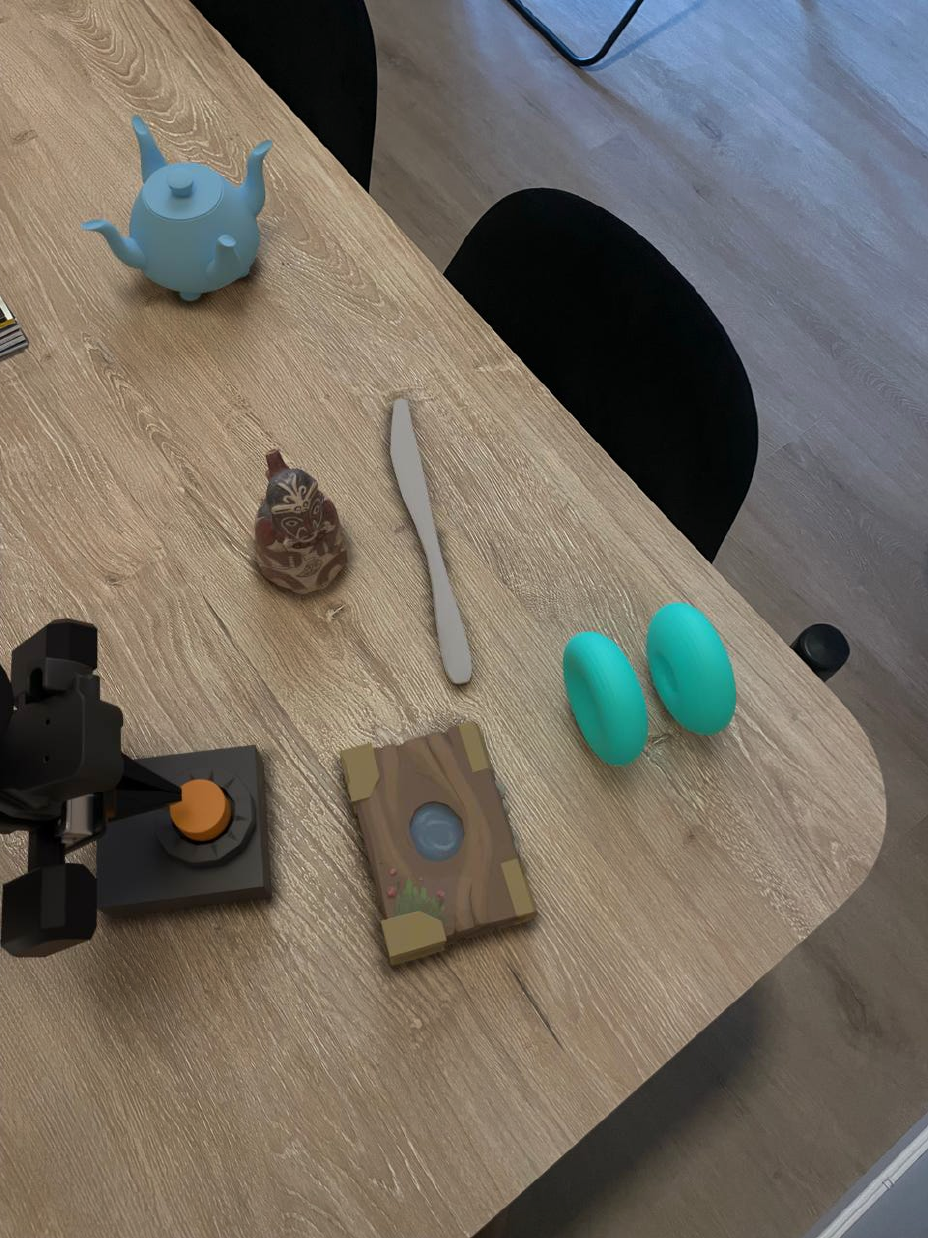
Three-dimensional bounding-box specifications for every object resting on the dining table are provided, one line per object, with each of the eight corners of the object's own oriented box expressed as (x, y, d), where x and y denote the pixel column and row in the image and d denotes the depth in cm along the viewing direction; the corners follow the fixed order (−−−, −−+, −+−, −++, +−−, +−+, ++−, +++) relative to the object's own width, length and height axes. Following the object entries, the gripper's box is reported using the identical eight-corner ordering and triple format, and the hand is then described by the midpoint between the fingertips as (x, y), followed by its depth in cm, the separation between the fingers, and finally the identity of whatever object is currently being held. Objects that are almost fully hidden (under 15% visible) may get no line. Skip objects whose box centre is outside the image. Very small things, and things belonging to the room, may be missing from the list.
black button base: (112, 919, 75) (88, 904, 69) (112, 780, 79) (89, 755, 73) (272, 898, 76) (260, 881, 70) (263, 762, 80) (251, 736, 74)
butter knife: (437, 686, 82) (475, 678, 82) (379, 401, 93) (413, 395, 93) (437, 689, 82) (475, 681, 83) (380, 405, 94) (414, 399, 94)
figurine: (272, 605, 85) (250, 530, 74) (246, 531, 88) (221, 448, 77) (358, 577, 86) (349, 499, 75) (330, 505, 89) (317, 420, 78)
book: (341, 768, 80) (336, 747, 75) (483, 730, 81) (486, 707, 77) (391, 966, 74) (389, 957, 69) (543, 921, 76) (551, 909, 71)
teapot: (288, 226, 102) (275, 137, 92) (248, 334, 96) (230, 251, 87) (157, 201, 102) (131, 111, 93) (110, 307, 97) (77, 222, 88)
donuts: (550, 670, 84) (565, 616, 74) (667, 631, 85) (695, 574, 76) (600, 788, 80) (623, 746, 71) (721, 745, 81) (758, 699, 72)
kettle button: (177, 844, 71) (170, 836, 69) (176, 792, 73) (168, 782, 71) (232, 837, 72) (226, 829, 70) (229, 785, 73) (224, 775, 71)
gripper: (-15, 914, 48) (266, 920, 59) (2, 550, 56) (247, 615, 67) (-115, 960, 55) (154, 958, 66) (-88, 629, 63) (149, 677, 73)
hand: (178, 796), depth 68 cm, fingers closed
